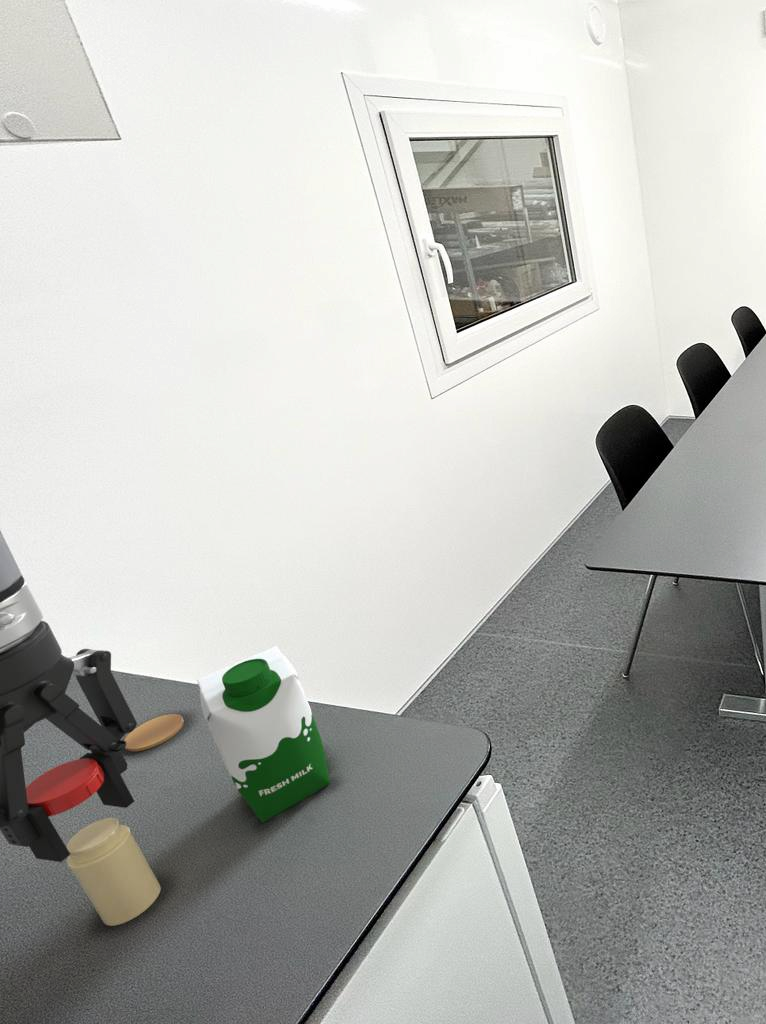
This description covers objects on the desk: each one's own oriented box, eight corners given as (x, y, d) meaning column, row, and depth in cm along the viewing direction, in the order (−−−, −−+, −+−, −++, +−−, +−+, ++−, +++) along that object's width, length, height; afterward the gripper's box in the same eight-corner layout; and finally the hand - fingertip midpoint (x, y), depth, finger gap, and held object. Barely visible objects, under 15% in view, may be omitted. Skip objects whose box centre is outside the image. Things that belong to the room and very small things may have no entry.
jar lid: (116, 780, 62) (109, 766, 61) (48, 824, 58) (40, 810, 57) (85, 766, 63) (77, 752, 63) (16, 809, 59) (7, 794, 58)
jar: (89, 927, 64) (45, 857, 60) (130, 882, 68) (91, 815, 65) (134, 924, 65) (93, 855, 61) (172, 880, 69) (136, 812, 65)
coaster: (111, 752, 84) (109, 750, 84) (151, 717, 89) (150, 714, 89) (158, 750, 84) (156, 748, 84) (195, 715, 90) (194, 713, 90)
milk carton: (255, 833, 74) (197, 704, 66) (237, 789, 79) (181, 665, 72) (341, 782, 80) (297, 659, 73) (319, 744, 85) (276, 626, 78)
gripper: (-139, 730, 45) (3, 933, 54) (133, 584, 62) (209, 756, 70) (-224, 720, 46) (-70, 921, 54) (67, 578, 63) (151, 749, 71)
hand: (87, 828), depth 62 cm, fingers closed on jar lid, 5 cm apart
